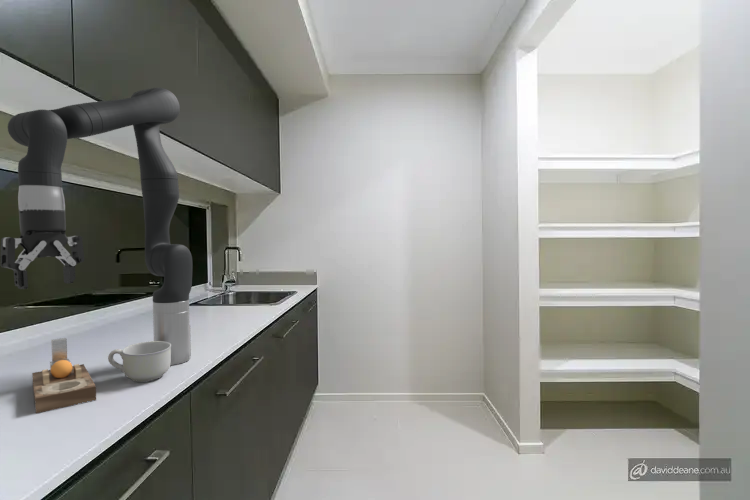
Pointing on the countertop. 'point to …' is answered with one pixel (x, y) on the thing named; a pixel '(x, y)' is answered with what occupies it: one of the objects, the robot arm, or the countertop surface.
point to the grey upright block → (58, 351)
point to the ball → (61, 369)
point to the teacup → (144, 360)
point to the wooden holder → (62, 389)
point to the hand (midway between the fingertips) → (46, 285)
